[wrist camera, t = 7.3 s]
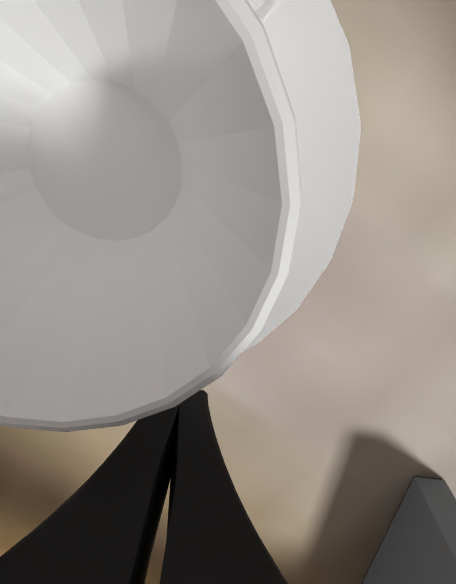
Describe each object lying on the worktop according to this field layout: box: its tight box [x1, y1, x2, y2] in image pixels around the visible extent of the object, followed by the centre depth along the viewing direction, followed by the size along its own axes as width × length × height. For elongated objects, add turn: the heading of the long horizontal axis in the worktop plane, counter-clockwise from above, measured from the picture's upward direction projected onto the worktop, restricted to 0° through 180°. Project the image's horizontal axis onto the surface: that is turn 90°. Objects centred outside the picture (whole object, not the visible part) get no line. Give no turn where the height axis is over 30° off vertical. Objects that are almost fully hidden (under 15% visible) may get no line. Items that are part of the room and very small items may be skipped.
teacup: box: [0, 0, 361, 432], centre depth 8 cm, size 12×12×5 cm
